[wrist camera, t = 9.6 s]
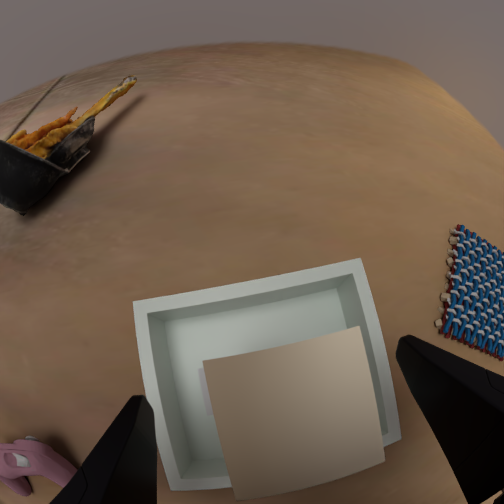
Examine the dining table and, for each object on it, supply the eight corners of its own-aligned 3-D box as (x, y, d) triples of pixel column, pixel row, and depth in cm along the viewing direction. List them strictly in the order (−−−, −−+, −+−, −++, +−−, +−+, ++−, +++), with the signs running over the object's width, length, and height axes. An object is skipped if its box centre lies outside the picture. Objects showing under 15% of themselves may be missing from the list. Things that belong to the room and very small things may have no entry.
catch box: (341, 277, 20) (360, 257, 16) (375, 427, 16) (401, 438, 12) (154, 313, 19) (132, 301, 15) (185, 468, 15) (171, 490, 11)
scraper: (320, 340, 18) (437, 299, 6) (331, 388, 17) (459, 421, 5) (201, 365, 18) (104, 371, 5) (211, 414, 16) (138, 503, 4)
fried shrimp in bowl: (-24, 189, 19) (53, 42, 19) (51, 216, 28) (117, 84, 28) (-28, 206, 14) (77, 14, 14) (73, 240, 23) (156, 74, 23)
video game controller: (84, 448, 16) (22, 423, 12) (95, 496, 13) (30, 483, 8) (21, 458, 15) (-33, 434, 10) (28, 497, 12) (-29, 480, 7)
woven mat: (511, 266, 21) (523, 260, 19) (499, 363, 18) (513, 361, 16) (446, 225, 23) (457, 215, 21) (427, 333, 19) (441, 329, 17)
